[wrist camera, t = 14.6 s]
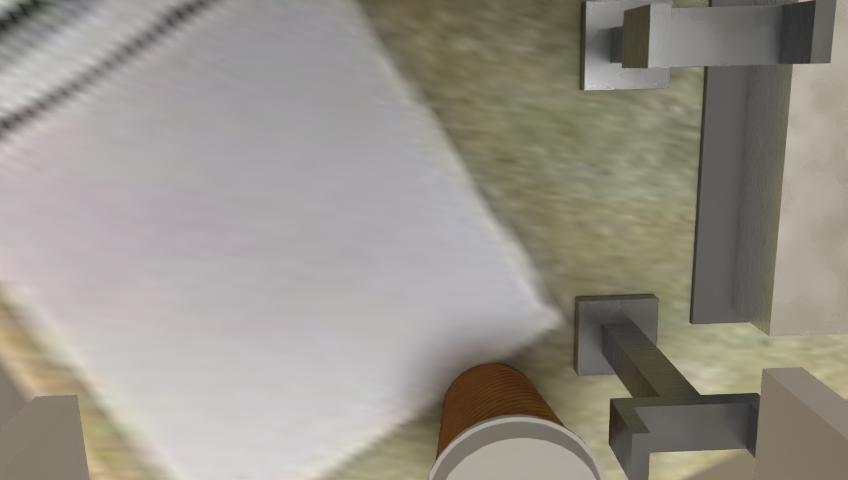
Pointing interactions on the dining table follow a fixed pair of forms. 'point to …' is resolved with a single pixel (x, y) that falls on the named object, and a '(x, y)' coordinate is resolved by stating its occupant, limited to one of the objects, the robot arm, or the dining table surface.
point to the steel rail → (795, 194)
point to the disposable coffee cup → (506, 432)
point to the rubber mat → (719, 189)
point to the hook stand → (637, 314)
